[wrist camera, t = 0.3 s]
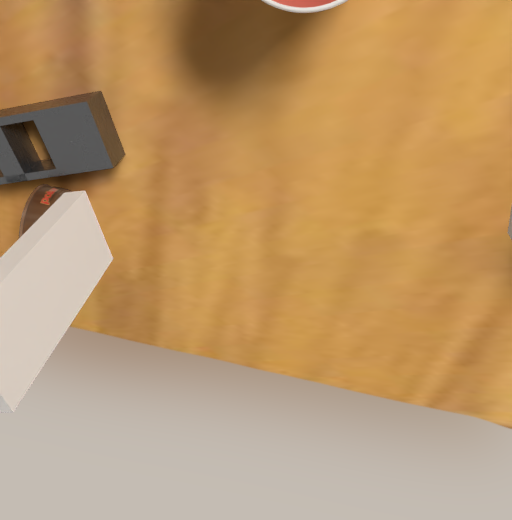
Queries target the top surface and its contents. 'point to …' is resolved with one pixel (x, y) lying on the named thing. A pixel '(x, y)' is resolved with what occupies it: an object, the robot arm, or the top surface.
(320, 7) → the cup
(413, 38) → the top surface
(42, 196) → the tin
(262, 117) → the top surface
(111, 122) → the board
